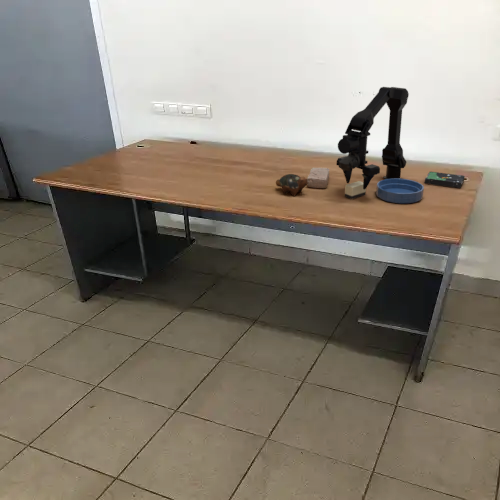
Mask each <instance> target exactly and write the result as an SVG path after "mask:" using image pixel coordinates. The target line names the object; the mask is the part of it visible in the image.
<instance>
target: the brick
mask: <svg viewBox="0 0 500 500" xmlns="http://www.w3.org/2000/svg"><path fill="white" fill-rule="evenodd" d="M306 179H307V180H308V183H307V185H306V186H307V187H308V188H318V189H327V187H328V183H329V179H330V168H329V167H328V168H327V167H312V168H311V169H310V171H309V174H308V175H307V178H306Z"/></svg>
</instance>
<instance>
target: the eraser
mask: <svg viewBox="0 0 500 500" xmlns="http://www.w3.org/2000/svg"><path fill="white" fill-rule="evenodd" d="M344 186H345V187H344V197H345V198H347V199H350V200H354V199H357V198H360V197H364V196H366V194H367V188H366V189H363V181H361V180H358V181H354V182H350V183H346V184H345V185H344Z"/></svg>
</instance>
